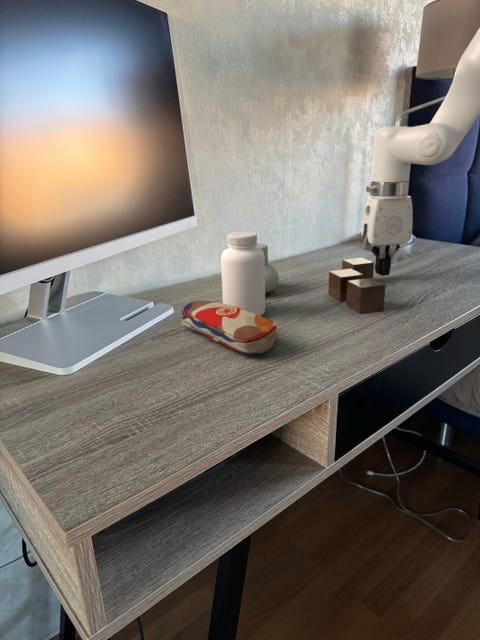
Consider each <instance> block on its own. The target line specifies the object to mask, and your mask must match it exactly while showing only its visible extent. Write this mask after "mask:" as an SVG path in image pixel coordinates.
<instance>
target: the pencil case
mask: <svg viewBox="0 0 480 640" xmlns="http://www.w3.org/2000/svg"><path fill="white" fill-rule="evenodd" d="M181 315H182V319H181V322H180V323H181V324H182V325H183V326H184V327H186V328H189V329H191V330H193V331H195V332H197V333H201V334H202V335H203V336H206V337H207V338H209V339H210V340H214V341H216V342H218V343H219V344H222V345H224V346H226V347H229V348H230V349H232V350H234V351H237V352H240V353H242V354H245V355H261V354H262V353H265V352H266V351H268V350H270V349H271V348H272V347H273V346H274V345H275V343H276V342H277V341H278V333H277V329H278V328H277V324H276V323H275V321H273V320H272V319H270V318H268V317H265V316H263V315H261V316H260V315H257V314H254V313H251V312H248V311H246V310H243V309H240V308H238V307H235V306H232V305H228V304H225V303H223V302H220V301H213V300H195V301H191V302H189V303H187V304H186V305H184V306H183V308H182V312H181Z"/></svg>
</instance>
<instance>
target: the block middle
mask: <svg viewBox="0 0 480 640" xmlns="http://www.w3.org/2000/svg"><path fill="white" fill-rule="evenodd" d="M358 279H363V274H361V273H359V272H357V271H355V270H353V269H344V270H342V269H337V270H329V271H328V289H327V290H328V291H327V295H328V296H330V297H332V298H333V299H335V300H337V301H338V302H347V283H348V281H351V280H358Z"/></svg>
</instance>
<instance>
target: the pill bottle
mask: <svg viewBox="0 0 480 640" xmlns="http://www.w3.org/2000/svg"><path fill="white" fill-rule="evenodd" d="M226 242H227V247H228V248H226V249H224V250H223V251H222V252H221V255H220V268H221V269H220V270H221V272H220V273H221V292H222V295H221V296H222V303H225V304H228V305H232V306H235V307H238V308H240V309H243V310H246V311H248V312H251V313H254V314H257V315H260V316H263V315H264V313H265V311H266V293H265V256H264V253H263V251H262V250H261V249H259V248H257V247H256V245H257V243H258V234H257V233H256V232H253V231H233V232H229V233H227V235H226Z"/></svg>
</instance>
